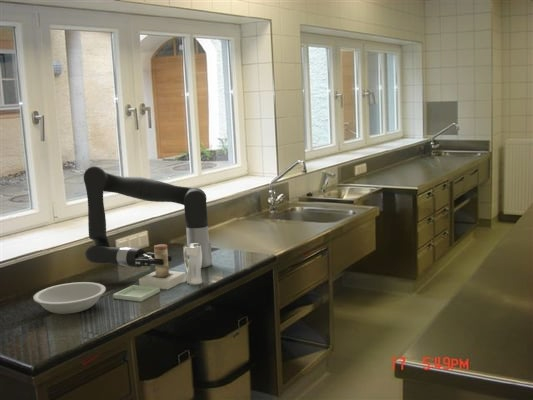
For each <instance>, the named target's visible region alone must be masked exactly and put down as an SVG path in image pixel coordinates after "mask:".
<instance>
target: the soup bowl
mask: <svg viewBox="0 0 533 400" xmlns="http://www.w3.org/2000/svg"><path fill="white" fill-rule="evenodd" d="M106 290H107V287H106V286H105V285H103V284H101V283H99V282H91V281H90V282H89V281H84V282H83V281H80V282H77V281H76V282H68V283H61V284H57V285H53V286H49V287H46V288H45V289H42V290H39V291H37V292H36V293H35V294H34V295H33V296H32V297H33V299H32V300H33V301H34V302H35V303H38V304H39V305H40V306H41V307H43V308H44V309H45V310H46V311H48V312H50V313H53V314H59V315H67V314H68V315H69V314H76V313H80V312H83V311H86V310H88V309H90V308H91V307H93V306H94V305H95V304H96V303H97V302H98V301H99V300H100V298H101V296H102V295H103V294H104V293H105V292H106Z"/></svg>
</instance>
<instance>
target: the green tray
mask: <svg viewBox="0 0 533 400" xmlns="http://www.w3.org/2000/svg"><path fill="white" fill-rule="evenodd" d="M160 292H161V289H160V288H159V287H150V286H140V285H139V284H132V285H130V286H128V287H126V288H123V289H121V290H119V291H117V292H115V293H113V294H112V295H113V299H115V300H116V299H117V300H125V301H134V302H143V301H144V300H146V299H149V298H151V297H153V296H154V295H156V294H158V293H160Z"/></svg>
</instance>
